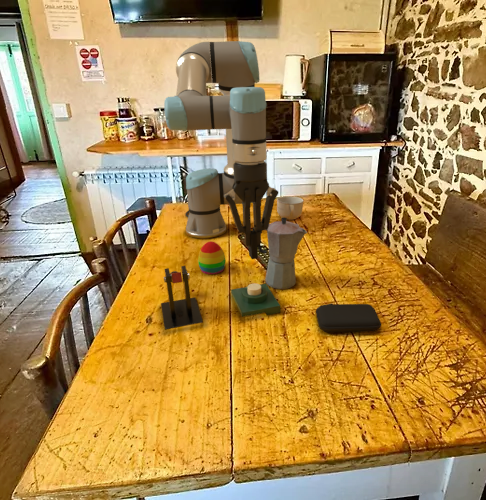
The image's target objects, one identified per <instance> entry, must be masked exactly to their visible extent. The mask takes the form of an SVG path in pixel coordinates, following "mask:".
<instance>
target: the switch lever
mask: <svg viewBox="0 0 486 500" xmlns="http://www.w3.org/2000/svg"><path fill="white" fill-rule="evenodd" d="M170 277H171V284H177V283H178V284H179V283H183V277H182V271H176V270H173V271H171V272H170Z"/></svg>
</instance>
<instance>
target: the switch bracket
mask: <svg viewBox="0 0 486 500" xmlns="http://www.w3.org/2000/svg"><path fill="white" fill-rule="evenodd" d="M180 267H181V276H182V284H183V293H184V298H183V299H175V300H174V294H173V293H174V291H173V286H172V282H171V277H170V273H171V272H170V268H168V267H166V268H164V276H163V281H164V283H166V289H167V290H166V291H167V296H168V301H166V302H160V306H161V313H162V318H163V326H164V327H163V328H164V330H165V331H166V330H171V329H176V328H177V329H178V328H181V327H182V328H183V327H187V326H191V325H197V324H202V323H204V320H203V318H202V314H201V311H200V308H199V304H198V301H197V297H196V296H194V297H193V296H192V297H191V291H190V283H189V279H190V278H191V276H190V273H189V272H188V270H187V267H186V265H181V266H180Z"/></svg>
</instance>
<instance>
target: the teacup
mask: <svg viewBox="0 0 486 500" xmlns="http://www.w3.org/2000/svg"><path fill="white" fill-rule="evenodd" d="M303 209H304V199H303V198H301V197H298V196H291V195H285V196H284V195H283V196H278V197H276V211H277V215H278V216H280V218H287V221H290V220H291V221H293V220H296V219H298V218H299V217H301V215H302V213H303Z"/></svg>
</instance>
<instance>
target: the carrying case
mask: <svg viewBox="0 0 486 500" xmlns="http://www.w3.org/2000/svg"><path fill="white" fill-rule="evenodd" d="M377 313H378V312H377V311H376V309H375V308H374V306H372V305H371V304H369V303H339V304H338V303H337V304H334V303H332V302H331V303H328V304H321V305H319V306H318V307H317V308H316V309H315V314H316V320H317V324H318V327H319V329H320V330H321V331H323V332H324V333H369V332H376V331H379V330H381V328H382V322H381V320H380V317H379V316H378V314H377Z"/></svg>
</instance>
